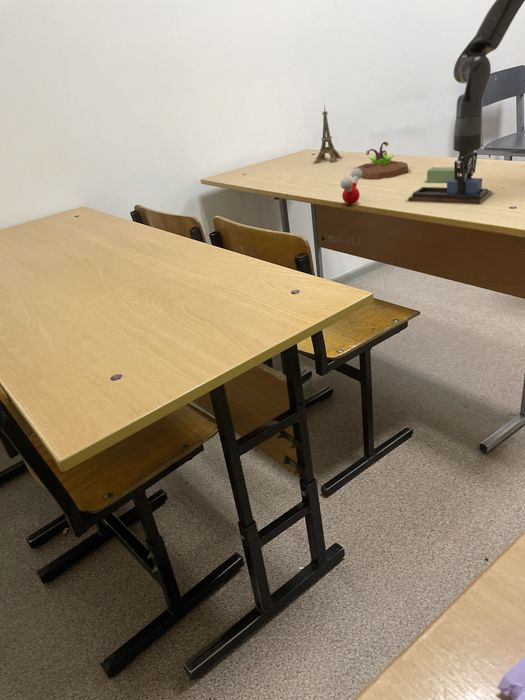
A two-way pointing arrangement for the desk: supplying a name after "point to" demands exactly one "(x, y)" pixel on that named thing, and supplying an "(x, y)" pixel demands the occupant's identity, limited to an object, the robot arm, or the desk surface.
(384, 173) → the plant
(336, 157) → the eiffel tower
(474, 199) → the dark wooden tray
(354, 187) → the molecular model
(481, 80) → the robot arm
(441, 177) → the green rectangular block
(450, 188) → the blue rectangular block
